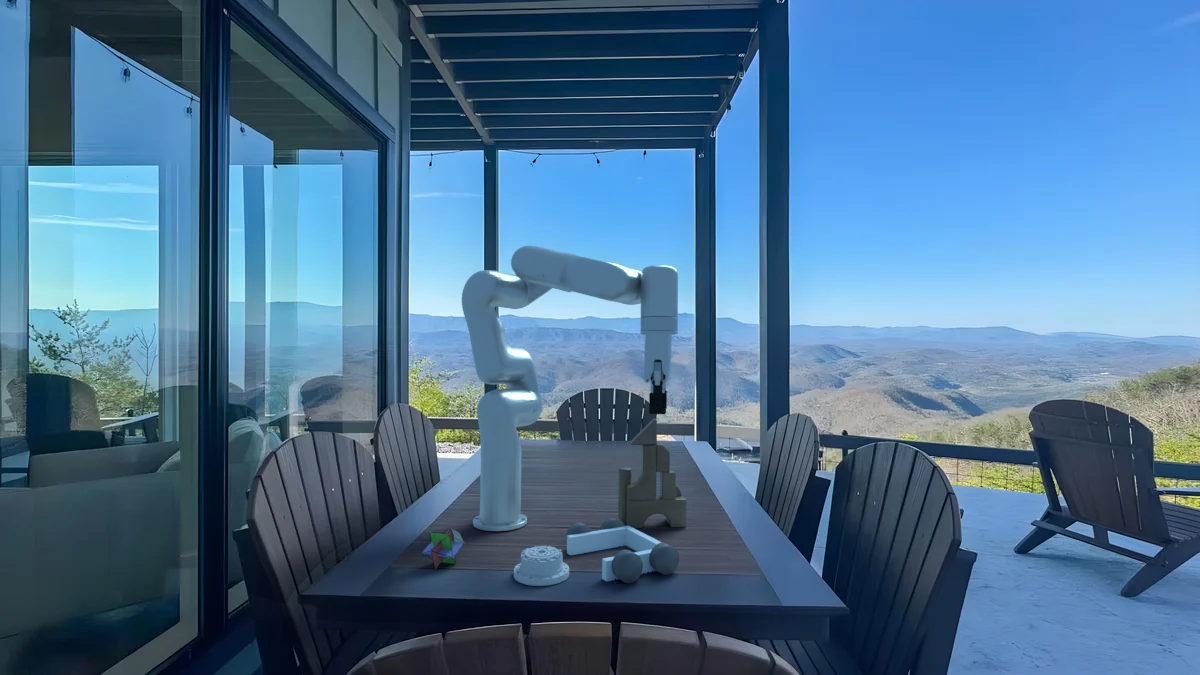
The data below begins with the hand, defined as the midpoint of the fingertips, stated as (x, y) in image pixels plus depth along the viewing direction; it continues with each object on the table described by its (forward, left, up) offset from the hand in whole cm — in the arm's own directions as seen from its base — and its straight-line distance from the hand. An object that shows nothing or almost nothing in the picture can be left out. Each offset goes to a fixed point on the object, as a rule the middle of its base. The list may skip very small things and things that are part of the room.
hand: (658, 411), depth 111 cm
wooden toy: (-18, +11, -29) cm, 36 cm away
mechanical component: (-1, -24, -29) cm, 38 cm away
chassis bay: (-1, -9, -29) cm, 30 cm away
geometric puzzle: (-14, -39, -29) cm, 51 cm away
